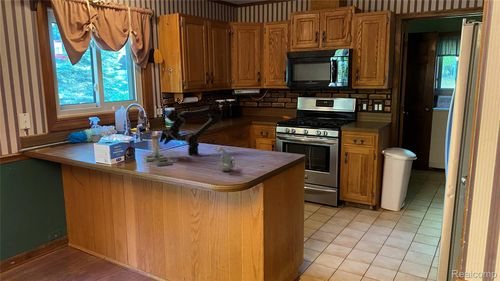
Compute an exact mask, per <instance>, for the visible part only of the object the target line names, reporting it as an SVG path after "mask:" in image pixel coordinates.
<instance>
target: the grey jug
mask: <svg viewBox="0 0 500 281" xmlns="http://www.w3.org/2000/svg"><path fill="white" fill-rule="evenodd" d="M216 152H217V153H221V152H222V155H220V162H219V161H218V164H220V165H219V169H222V170H223V171H225V172H228V171H230V170H231V169H232V168H235V166H236V165H235V162H236V161H235V159H234V156H231V154H230V153H229V152H228V151H227V150H225V149H224V148H222V147H221V146H218V147H217V149H216Z"/></svg>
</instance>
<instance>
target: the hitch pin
mask: <svg viewBox="0 0 500 281" xmlns="http://www.w3.org/2000/svg"><path fill="white" fill-rule="evenodd" d="M159 137H160V135H159V134H153V135H152V134H151V135H150V138H151V145H152V146H151V147H152V155H153V158H160V156H159V155H160V138H159Z"/></svg>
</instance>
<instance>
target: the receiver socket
mask: <svg viewBox="0 0 500 281" xmlns="http://www.w3.org/2000/svg"><path fill="white" fill-rule="evenodd" d="M154 163H155V165H156V166H157V167H163V166H172V165H173V164H174V163H173V161H172V160H171V159H170V158H167V159H163V160H155V161H154Z"/></svg>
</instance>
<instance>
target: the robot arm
mask: <svg viewBox="0 0 500 281" xmlns="http://www.w3.org/2000/svg"><path fill="white" fill-rule="evenodd" d="M204 115H207V116H208V117H209V118H208V121H206V122H205V123H204V124H203V125H202V126H200V127H199V128H198V129H196V131H195V132H190V133H189V134H187V135H186V137H185V138H184V139H185V140H184V142H185V143H186V144H187V146H188V148H187V153H188V155H189V156H195V155H199V146H200V143H199V142H198V140H199V138H200V137H201V136H202V135H203V134H204V133H206V132H207V131H208V130H209V129H210V128H211V127H212V126H214V125H216V124H218V123H220V122H221V121H222V119H223V118H222V115H221V114H220V113H217V112H216V111H214V110H213V109H211V108H210V107H209V108H207V107H206V108H204V109H198V110H197V109H196V110H193V111H190V110H189V111H188V110H183V111H182V110H181V112H179V113H176V112H175V110H174V109H171V110H170V111H168V112H167V113H166V114H165V118H167V119H168V120H169V121H170V122H171V123H172V122H173V123H172V124H170V127H169V128H162V130H161V135H160V138H159V144H160V143H162V142H163V141H164V142H163V144H164V145H167V144H168V143H170V142H171V141H180V140H183V139H182V136H181V134H180V129H181V127H182V126H183V125H185V126H187V121H188V120H190V119H193V118H195V117H200V116H204Z"/></svg>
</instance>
